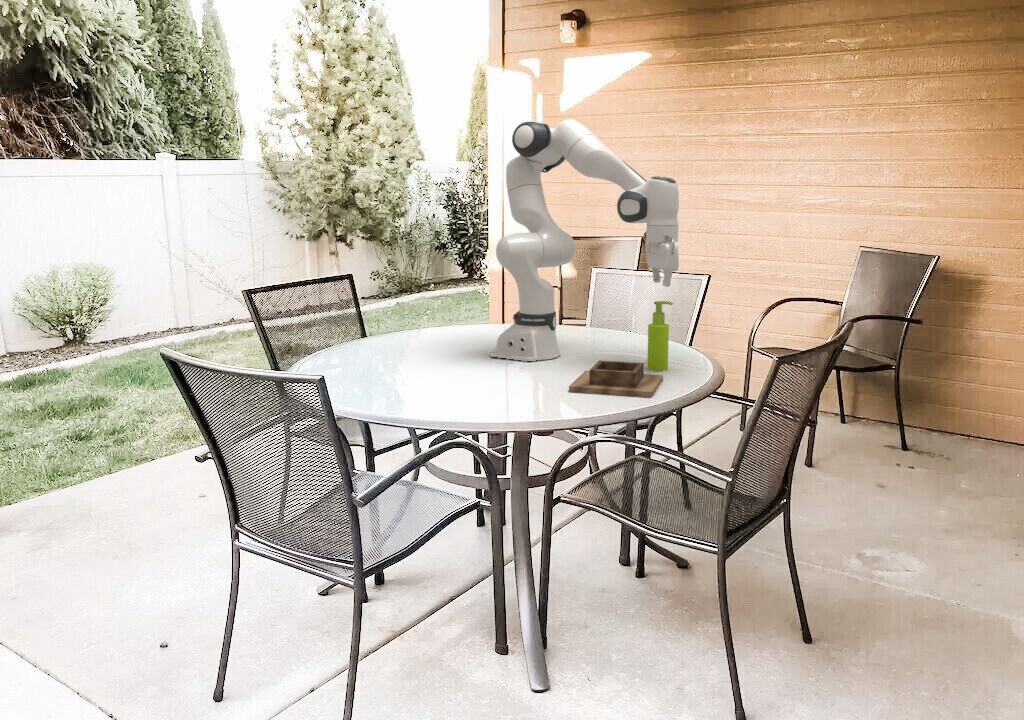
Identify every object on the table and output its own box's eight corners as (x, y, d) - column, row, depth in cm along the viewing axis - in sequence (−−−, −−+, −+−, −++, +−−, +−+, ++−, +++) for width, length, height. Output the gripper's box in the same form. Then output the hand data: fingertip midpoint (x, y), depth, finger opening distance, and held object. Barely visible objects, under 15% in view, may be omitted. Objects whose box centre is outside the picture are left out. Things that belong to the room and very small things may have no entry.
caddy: (568, 391, 206) (568, 371, 205) (585, 375, 223) (585, 356, 222) (652, 397, 199) (652, 376, 198) (662, 380, 216) (663, 361, 214)
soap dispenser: (671, 371, 225) (673, 303, 221) (647, 371, 227) (648, 302, 222) (671, 366, 231) (673, 300, 226) (647, 366, 232) (649, 299, 228)
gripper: (685, 237, 210) (683, 288, 213) (662, 233, 230) (661, 279, 233) (662, 238, 209) (661, 289, 213) (641, 233, 229) (641, 280, 232)
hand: (661, 284), depth 223 cm, fingers open, 8 cm apart
